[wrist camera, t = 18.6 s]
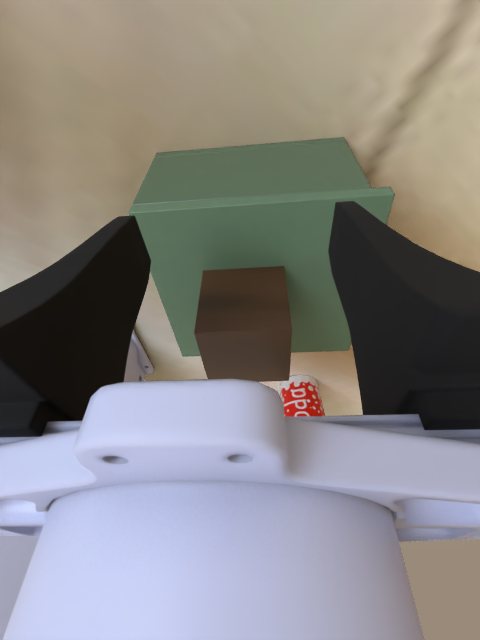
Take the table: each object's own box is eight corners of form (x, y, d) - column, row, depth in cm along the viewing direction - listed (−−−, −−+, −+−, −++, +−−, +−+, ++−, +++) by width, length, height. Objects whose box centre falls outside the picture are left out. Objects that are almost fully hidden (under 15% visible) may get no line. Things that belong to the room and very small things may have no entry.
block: (283, 320, 20) (289, 381, 17) (214, 323, 20) (208, 383, 18) (284, 265, 17) (292, 329, 14) (202, 270, 17) (193, 333, 14)
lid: (390, 186, 14) (395, 193, 14) (347, 342, 23) (349, 350, 22) (131, 205, 15) (127, 212, 15) (183, 349, 24) (182, 356, 23)
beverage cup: (327, 371, 37) (354, 507, 28) (319, 396, 42) (339, 520, 33) (275, 371, 37) (285, 506, 28) (272, 396, 42) (280, 519, 33)
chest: (344, 136, 18) (372, 187, 14) (322, 284, 27) (335, 342, 23) (156, 152, 19) (131, 204, 15) (193, 291, 28) (183, 348, 24)
